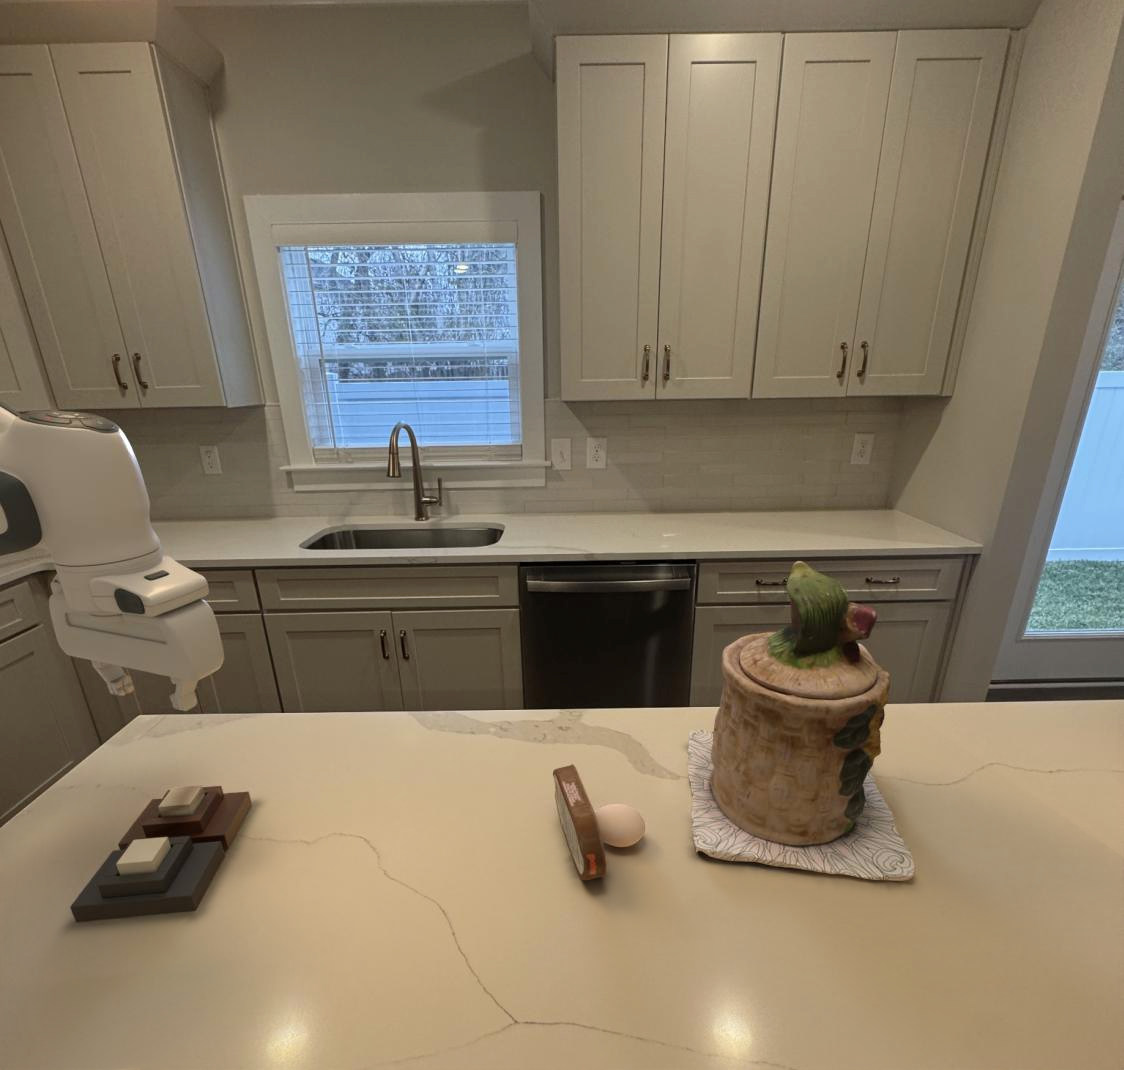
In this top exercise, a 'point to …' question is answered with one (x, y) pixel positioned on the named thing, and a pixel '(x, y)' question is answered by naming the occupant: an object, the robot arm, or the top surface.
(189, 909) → the dark grey stepped block
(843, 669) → the cookie jar
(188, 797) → the key
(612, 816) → the egg
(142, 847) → the key
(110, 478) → the robot arm
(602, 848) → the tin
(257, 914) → the top surface
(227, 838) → the brown push button base
